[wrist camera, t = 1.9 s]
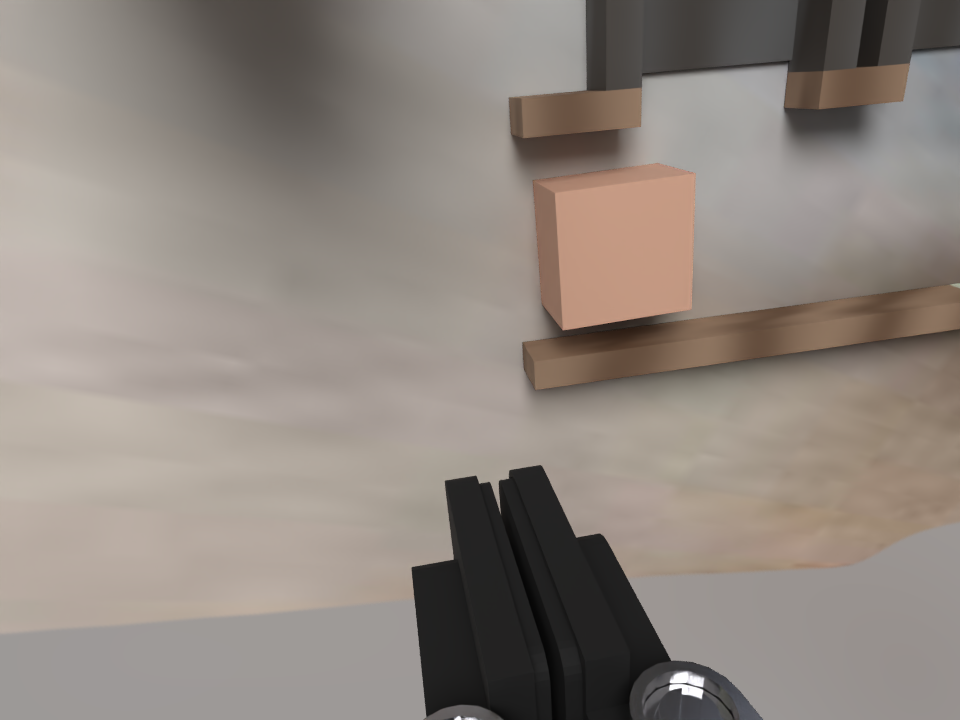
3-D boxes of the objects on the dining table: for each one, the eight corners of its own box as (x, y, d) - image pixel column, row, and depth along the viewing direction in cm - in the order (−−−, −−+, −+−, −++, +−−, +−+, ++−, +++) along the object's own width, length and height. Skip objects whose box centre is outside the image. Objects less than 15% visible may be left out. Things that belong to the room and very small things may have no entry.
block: (656, 162, 30) (695, 173, 26) (655, 284, 32) (691, 309, 29) (532, 179, 29) (554, 193, 26) (540, 302, 32) (562, 330, 28)
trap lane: (1216, -178, 28) (1308, -207, 25) (1068, 292, 36) (1125, 309, 34) (495, -145, 24) (511, -175, 21) (523, 368, 33) (537, 394, 30)
